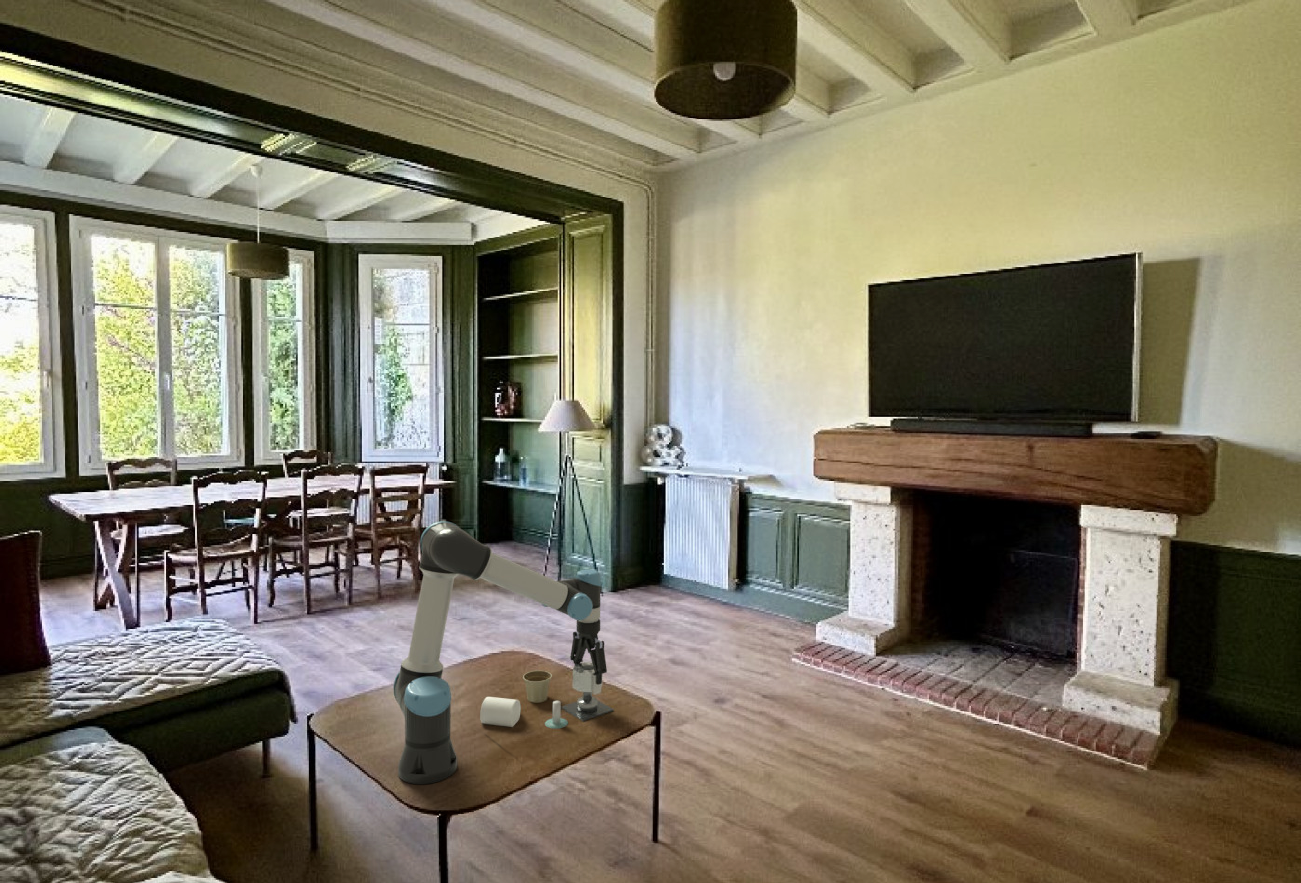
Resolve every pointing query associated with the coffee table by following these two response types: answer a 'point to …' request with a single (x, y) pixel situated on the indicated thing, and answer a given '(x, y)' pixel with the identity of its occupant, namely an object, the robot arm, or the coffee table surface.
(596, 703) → the hub
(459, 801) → the coffee table surface
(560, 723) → the stand
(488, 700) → the mug
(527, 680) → the flower pot
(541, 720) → the coffee table surface
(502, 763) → the coffee table surface
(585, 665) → the collar
